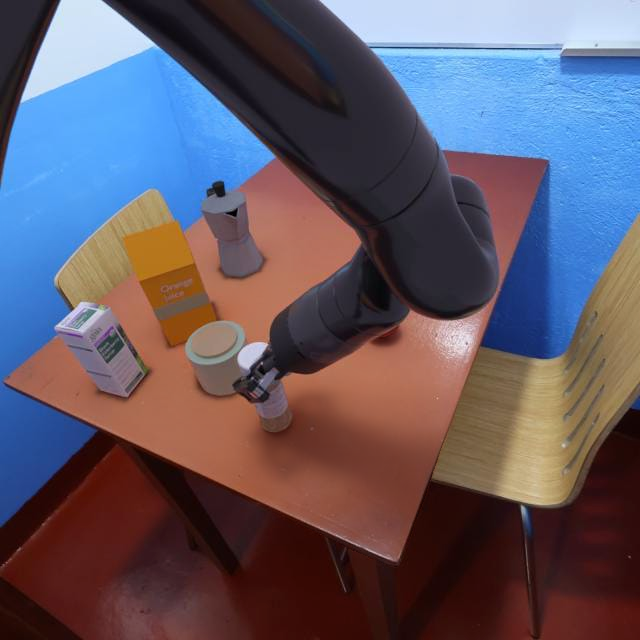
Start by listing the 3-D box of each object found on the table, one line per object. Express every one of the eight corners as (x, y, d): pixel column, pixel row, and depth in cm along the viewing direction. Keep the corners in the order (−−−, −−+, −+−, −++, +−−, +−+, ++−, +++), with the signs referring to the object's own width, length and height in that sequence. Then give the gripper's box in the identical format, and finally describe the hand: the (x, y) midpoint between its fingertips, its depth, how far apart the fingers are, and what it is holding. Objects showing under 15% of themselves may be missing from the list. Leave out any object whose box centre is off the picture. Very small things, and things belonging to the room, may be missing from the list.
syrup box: (127, 399, 73) (83, 333, 63) (98, 391, 75) (51, 326, 65) (149, 371, 77) (110, 305, 67) (121, 364, 79) (80, 299, 69)
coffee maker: (275, 270, 92) (254, 187, 80) (234, 289, 90) (207, 205, 78) (245, 238, 102) (222, 160, 90) (208, 254, 100) (179, 175, 88)
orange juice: (165, 319, 86) (119, 225, 72) (211, 303, 88) (175, 208, 74) (171, 347, 80) (122, 251, 67) (220, 329, 82) (183, 231, 68)
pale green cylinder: (228, 404, 70) (213, 370, 64) (188, 381, 74) (171, 347, 69) (267, 364, 74) (256, 329, 69) (227, 344, 79) (214, 310, 74)
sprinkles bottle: (259, 410, 67) (236, 344, 58) (291, 403, 67) (272, 337, 58) (261, 437, 63) (236, 371, 54) (294, 430, 64) (275, 363, 55)
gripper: (326, 259, 51) (257, 318, 64) (256, 351, 42) (193, 397, 55) (374, 306, 52) (297, 354, 65) (317, 405, 43) (241, 437, 56)
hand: (250, 373), depth 60 cm, fingers closed on sprinkles bottle, 4 cm apart
